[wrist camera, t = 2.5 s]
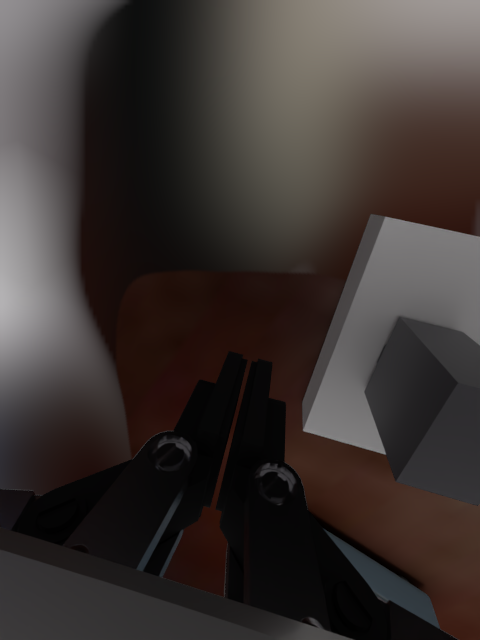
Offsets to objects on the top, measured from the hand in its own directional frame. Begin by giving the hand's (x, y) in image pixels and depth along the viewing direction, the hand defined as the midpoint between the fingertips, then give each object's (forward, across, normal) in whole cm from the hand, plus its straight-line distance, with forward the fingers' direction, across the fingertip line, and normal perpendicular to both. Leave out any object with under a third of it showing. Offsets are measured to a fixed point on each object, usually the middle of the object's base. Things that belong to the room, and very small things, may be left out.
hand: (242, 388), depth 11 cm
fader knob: (+6, -9, 0) cm, 11 cm away
